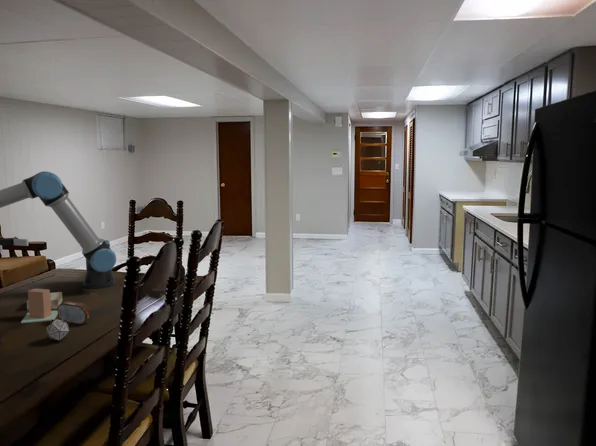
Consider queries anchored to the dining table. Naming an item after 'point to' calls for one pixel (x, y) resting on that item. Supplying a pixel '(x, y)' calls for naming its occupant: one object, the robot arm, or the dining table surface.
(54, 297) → the beige stone slab
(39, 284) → the dining table surface
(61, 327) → the game die
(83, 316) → the portable speaker
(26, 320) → the mat
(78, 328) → the dining table surface
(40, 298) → the tan upright block
